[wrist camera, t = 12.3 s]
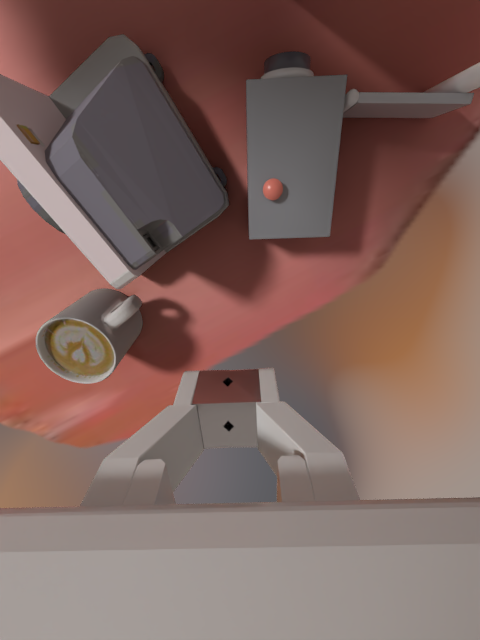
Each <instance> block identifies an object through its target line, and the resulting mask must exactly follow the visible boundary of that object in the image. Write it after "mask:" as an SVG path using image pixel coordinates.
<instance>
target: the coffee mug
mask: <svg viewBox="0 0 480 640" xmlns="http://www.w3.org/2000/svg"><path fill="white" fill-rule="evenodd" d="M141 305H142V301H141V300H140V298H139V297H137V296H136V295H132V296H130V297H127V296H126V295H124V294H123V293H121V292H118V291H116V290H112V289H97V290H93V291H91V292H89V293H88V294H86V295H85V296H83V297H82V298H80V299H79V300H78V301H76V302H75V303H73V304H72V305H70V306H69V307H67V308H66V309H64V310H63V311H61V312H60V313H59V314H57V315H56V316H54V317H53V318H51V319H50V320H48V321H47V322H46V323H44V324H43V325H42V326H41V328H40V329H39V331H38V333H37V336H36V348H37V351H38V354H39V356H40V358H41V359H42V361H43V362H44V363H45V365H46V366H47V367H48V368H49V369H50V370H52V371H53V372H54V373H56V374H57V375H59V376H61V377H62V378H65V379H67V380H70V381H73V382H77V383H84V384H88V383H96V382H99V381H102V380H104V379H106V378H107V377H108V376H109V375H110V374H111V373H112V372H113V371H114V370H115V368H116V367H117V365H118V364H119V362H120V361H121V360H122V358H123V357H124V355H125V354H126V353H127V351H128V350H129V348H130V347H131V346H132V344H133V343H134V341H135V340H136V338H137V337H138V336H139V334H140V332H141V330H142V325H143V320H142V315H141V312H140V310H139V308H140V307H141Z"/></svg>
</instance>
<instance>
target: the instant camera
mask: <svg viewBox="0 0 480 640" xmlns="http://www.w3.org/2000/svg"><path fill="white" fill-rule="evenodd" d="M152 66H154V68H155V70H156V71H154V69H153V67H152ZM163 79H164V72H163V69H162V67H161V65H160V64H159V62H158V60H157V59H156V57H155V56H154V55H153V54H151V53H147V54H143V52H142V51H141V50H140V48H139V47H138V46H137V45H136V44H135V43H134V42H132V41H131V40H130V39H129V38H128V37H126V36H125V35H124V34H121V35H117V36H113V37H109V38H108V39H107V40H106V41H105V42H104V43H103V44H102V45H100V46H99V47H98V48H97V49H96V50H95V51H94V52H93V53H92V54H91V55H90V56H89V57H88V58H87V59H86V60H85V61H84V62H83V63H82V64H81V65H80V66H79V67H78V68H77V69H76V70H75V71H74V72H73V73H72V74H71V75H70V76H69V77H68V78H67V79H66V80H65V81H64V82H63V83H62V84H61V85H60V86H59V87H58V88H57V89H56V90H55V91H54V92H53V93H52V94H51V95H50V96H46V95H44V94H42V93H40V92H38V91H35V90H33V89H31V88H29V87H27V86H25V85H22V84H20V83H18V82H16V81H14V80H12V79H9V78H7V77H5V76H3V75H1V74H0V160H1V161H2V162H3V163H4V165H5V166H6V167H7V168H8V169H9V170H10V171H11V173H12V174H13V175H14V176H15V177H16V178H17V182H18V187H19V189H20V191H21V193H22V195H23V197H24V198H25V199H26V201H27V202H28V203H29V204H30V206H31V207H32V208H33V210H35V211H36V212H37V213H38V214H39V215H40V216H41V217H42V218H43V219H44V220H45V221H46V222H48V223H49V224H50V225H52V226H53V227H54V228H56V229H57V230H59V231H60V232H62V233H64V234H66V235H67V236H68V237H69V238H70V239H71V240H72V241H73V243H74V244H75V245H76V246H77V247H78V248H79V249H80V250H81V252H82V253H83V254H84V255H85V256H86V257H87V258H88V260H89V261H90V262H91V263H92V264H93V265H94V266H95V267H96V269H97V270H98V271H99V272H100V273H101V274H102V275H103V276H104V278H105V279H106V280H107V281H108V282H109V283H110V284H111V285H112V286H113V287H115V288H116V289H121V288H123V287H124V286H126V285H127V284H128V283H130V282H131V281H133V280H134V279H136V278H137V277H139V276H140V275H141V274H142V273H143V272H145V271H146V270H147V269H148V268H149V267H150V266H152V265H153V264H154V263H155V262H156V261H157V260H159V259H160V258H161V257H162V256H163V255H164V254H166V253H167V252H168V251H170V250H171V249H173V248H174V247H176V246H177V245H178V244H180V243H181V242H183V241H184V240H186V239H187V238H188V237H190V236H191V235H193V234H194V233H196V232H197V231H198V230H200V229H201V228H203V227H204V226H206V225H207V224H208V223H210V222H211V221H213V220H214V219H216V218H217V217H218V216H220V215H221V213H222V212H223V211H224V210H225V209H226V208H227V207H228V206H229V199H228V193H227V191H226V189H225V188H224V187H225V186H226V183H227V180H226V176H225V174H224V173H223V171H222V169H220V168H218V167H215V168H213V167H212V166H211V164H210V162H209V161H208V159H207V157H206V156H205V154H204V152H203V151H202V149H201V147H200V146H199V144H198V142H197V141H196V139H195V137H194V136H193V134H192V132H191V131H190V129H189V127H188V126H187V124H186V122H185V121H184V119H183V117H182V116H181V114H180V112H179V111H178V109H177V107H176V106H175V104H174V102H173V101H172V99H171V97H170V96H169V94H168V92H167V91H166V89H165V87H164V86H163V84H162V81H163ZM217 174H218V175H219V177H220V179H221V181H220V179H219V178H218V176H217Z"/></svg>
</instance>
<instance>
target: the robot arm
mask: <svg viewBox="0 0 480 640" xmlns="http://www.w3.org/2000/svg"><path fill="white" fill-rule="evenodd" d="M225 447H258V450H259V451H260V453H261V454H262V455H263V457H264V458H265V460H266V461H267V463H268V464H269V465H270V467H271V469H272V470H273V472H274V473H275V474H276V475H277V502H262V503H261V502H260V503H214V504H176V502H175V498H174V494H173V492H174V491H175V489H176V488H177V487H178V485H179V484H180V482H181V481H182V480H183V478H184V477H185V476H186V474H187V473H188V471H189V470H190V468H191V467H192V466H193V465H194V463H195V462H196V460H197V459H198V458H199V456H200V455H201V454H202V452H203V451H204V449H207V448H225ZM0 640H480V497H478V498H435V499H433V498H432V499H391V500H389V499H387V500H360V498H359V495H358V493H357V490H356V488H355V485H354V482H353V480H352V477H351V474H350V471H349V469H348V466H347V463H346V461H345V458H344V455H343V453H342V452H341V451H340V450H339V449H338V448H336V447H335V446H334V445H333V444H332V443H331V442H330V441H329V440H327V439H326V438H325V437H324V436H323V435H322V434H320V432H318V431H317V430H316V429H315V428H314V427H313V426H311V425H310V424H309V423H308V422H307V421H306V420H305V419H304V418H302V417H301V416H300V415H299V414H298V413H297V412H296V411H295V410H293V409H292V408H291V407H290V406H289V405H287V403H286V402H280V399H279V394H278V388H277V382H276V376H275V370H274V368H260V369H249V370H203V371H185V372H184V373H183V376H182V379H181V382H180V385H179V389H178V392H177V395H176V398H175V401H174V404H173V405H171V406H168V407H166V408H165V409H164V410H163V411H162V412H160V413H159V414H158V415H157V416H155V417H154V418H153V419H152V420H151V421H149V422H148V423H147V424H146V425H145V426H143V427H142V428H141V429H140V430H138V431H137V432H136V433H135V434H134V435H132V436H131V437H130V438H129V439H128V440H126V441H125V442H124V443H123V444H121V445H120V446H119V447H118V448H117V449H115V450H114V451H113V452H112V453H111V454H109V455H108V456H107V457H106V458H105V459H104V460H103V462H102V464H101V466H100V468H99V470H98V472H97V473H96V476H95V478H94V479H93V481H92V483H91V485H90V487H89V489H88V491H87V493H86V495H85V497H84V499H83V501H82V503H81V505H80V506H78V507H37V508H0Z"/></svg>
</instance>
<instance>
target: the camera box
mask: <svg viewBox="0 0 480 640" xmlns="http://www.w3.org/2000/svg"><path fill="white" fill-rule="evenodd" d="M310 61H311V58H310V56H309V55H308V54H306V53H302V52H283V53H279V54H276V55H273V56H271V57H269V58H268V59H266V60H265V62H264V75H263V76H262V77H261V78H260V79H249V80H246V130H247V181H248V231H249V239H277V238H307V237H330V230H331V221H332V211H333V202H334V193H335V184H336V174H337V165H338V156H339V147H340V137H341V128H342V119H343V110H344V100H345V91H346V82H347V75H330V76H314V73H313V72H312V71H311V70H310Z"/></svg>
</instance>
